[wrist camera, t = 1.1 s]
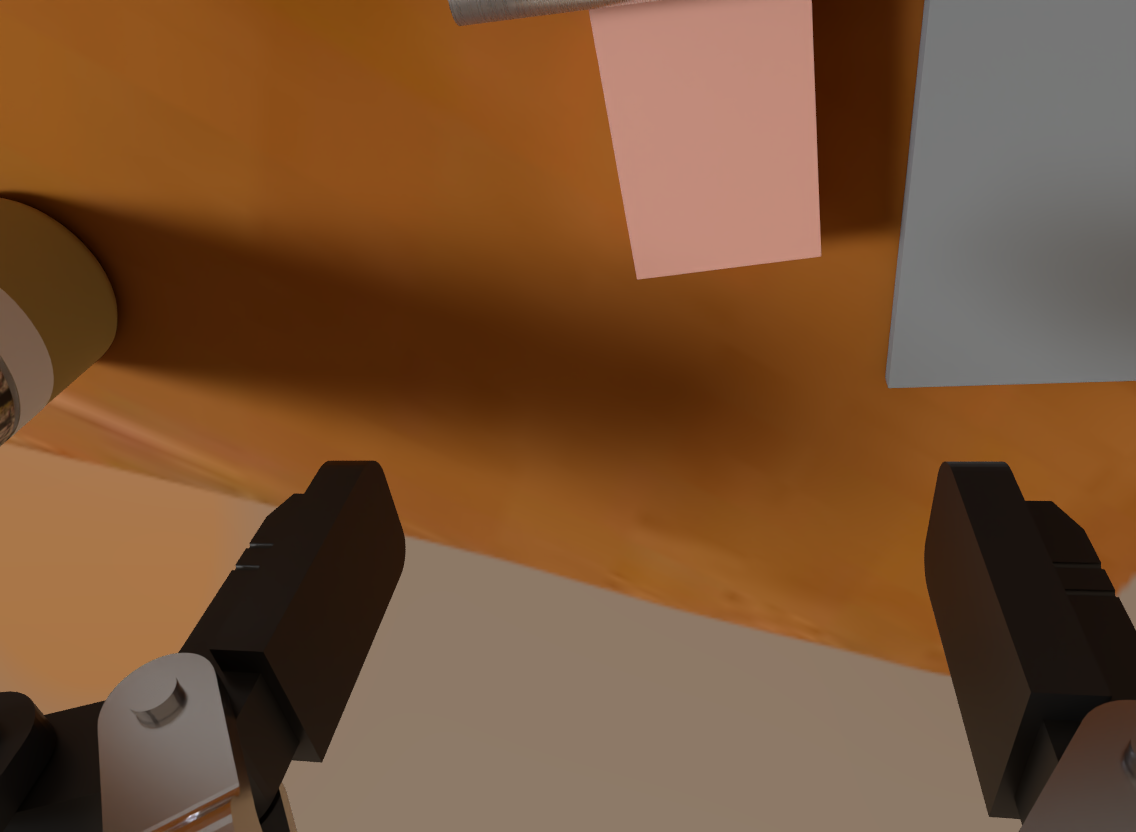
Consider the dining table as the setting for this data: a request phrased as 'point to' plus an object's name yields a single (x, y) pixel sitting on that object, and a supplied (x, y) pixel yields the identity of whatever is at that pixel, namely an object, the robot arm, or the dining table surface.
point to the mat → (1019, 197)
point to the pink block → (712, 130)
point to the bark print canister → (46, 312)
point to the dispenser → (522, 8)
